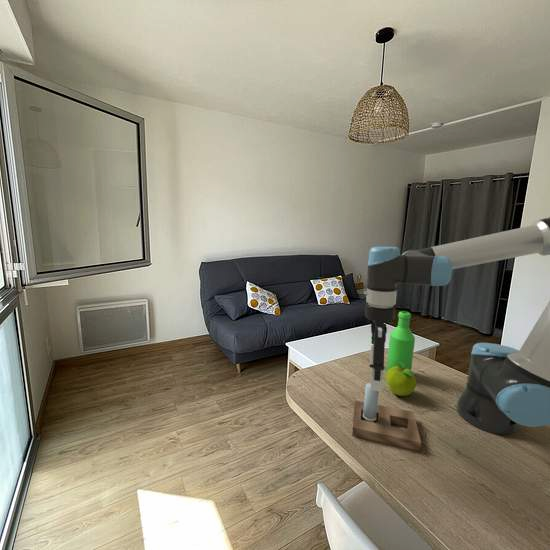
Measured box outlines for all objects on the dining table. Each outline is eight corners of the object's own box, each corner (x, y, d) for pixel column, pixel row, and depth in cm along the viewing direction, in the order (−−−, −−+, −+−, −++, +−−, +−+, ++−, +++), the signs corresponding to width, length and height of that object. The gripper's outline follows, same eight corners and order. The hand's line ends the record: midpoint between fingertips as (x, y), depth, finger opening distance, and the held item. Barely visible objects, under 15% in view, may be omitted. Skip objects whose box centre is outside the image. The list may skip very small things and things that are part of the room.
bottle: (381, 369, 116) (387, 309, 112) (399, 367, 119) (405, 308, 115) (396, 381, 108) (403, 317, 104) (415, 378, 111) (423, 315, 106)
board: (412, 419, 87) (413, 411, 87) (420, 451, 75) (421, 442, 75) (354, 407, 92) (354, 400, 92) (352, 435, 80) (352, 427, 80)
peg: (375, 421, 86) (378, 384, 84) (375, 429, 83) (379, 391, 80) (362, 418, 87) (365, 381, 85) (362, 426, 84) (365, 388, 81)
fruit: (406, 386, 105) (409, 360, 104) (418, 401, 96) (422, 373, 94) (381, 385, 105) (383, 359, 104) (390, 400, 96) (393, 373, 94)
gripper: (365, 292, 91) (362, 356, 95) (365, 316, 68) (360, 399, 71) (391, 294, 89) (386, 359, 93) (400, 320, 66) (393, 405, 69)
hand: (375, 377), depth 82 cm, fingers open, 13 cm apart
